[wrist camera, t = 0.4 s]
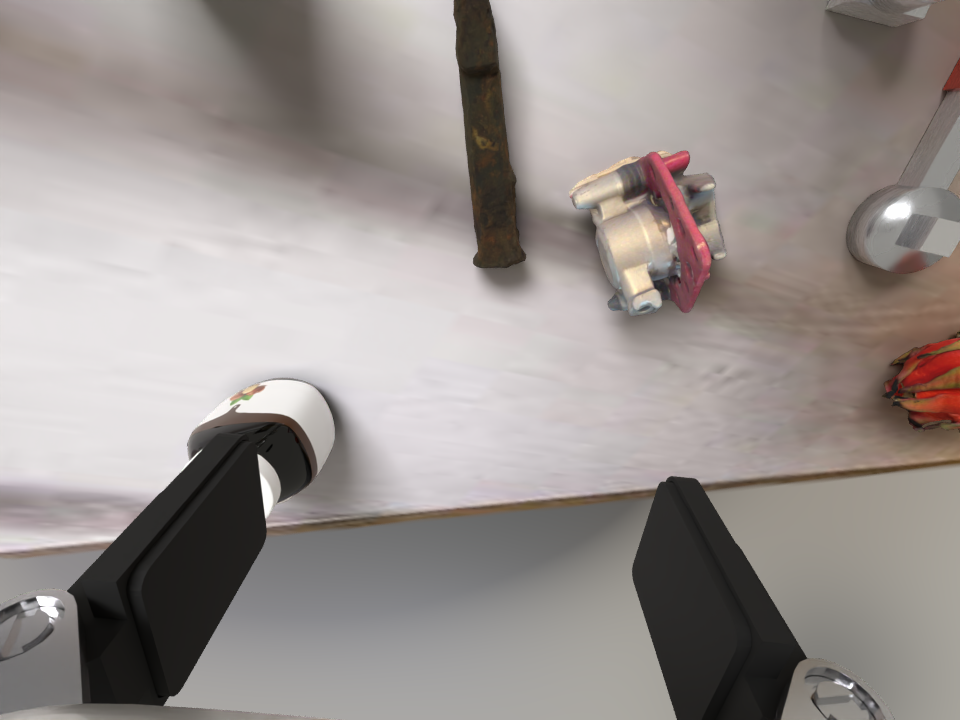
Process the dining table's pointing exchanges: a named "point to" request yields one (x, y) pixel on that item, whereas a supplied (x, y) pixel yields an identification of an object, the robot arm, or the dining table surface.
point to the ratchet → (916, 201)
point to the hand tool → (486, 137)
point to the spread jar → (275, 433)
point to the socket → (883, 10)
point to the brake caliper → (653, 230)
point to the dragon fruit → (929, 385)
